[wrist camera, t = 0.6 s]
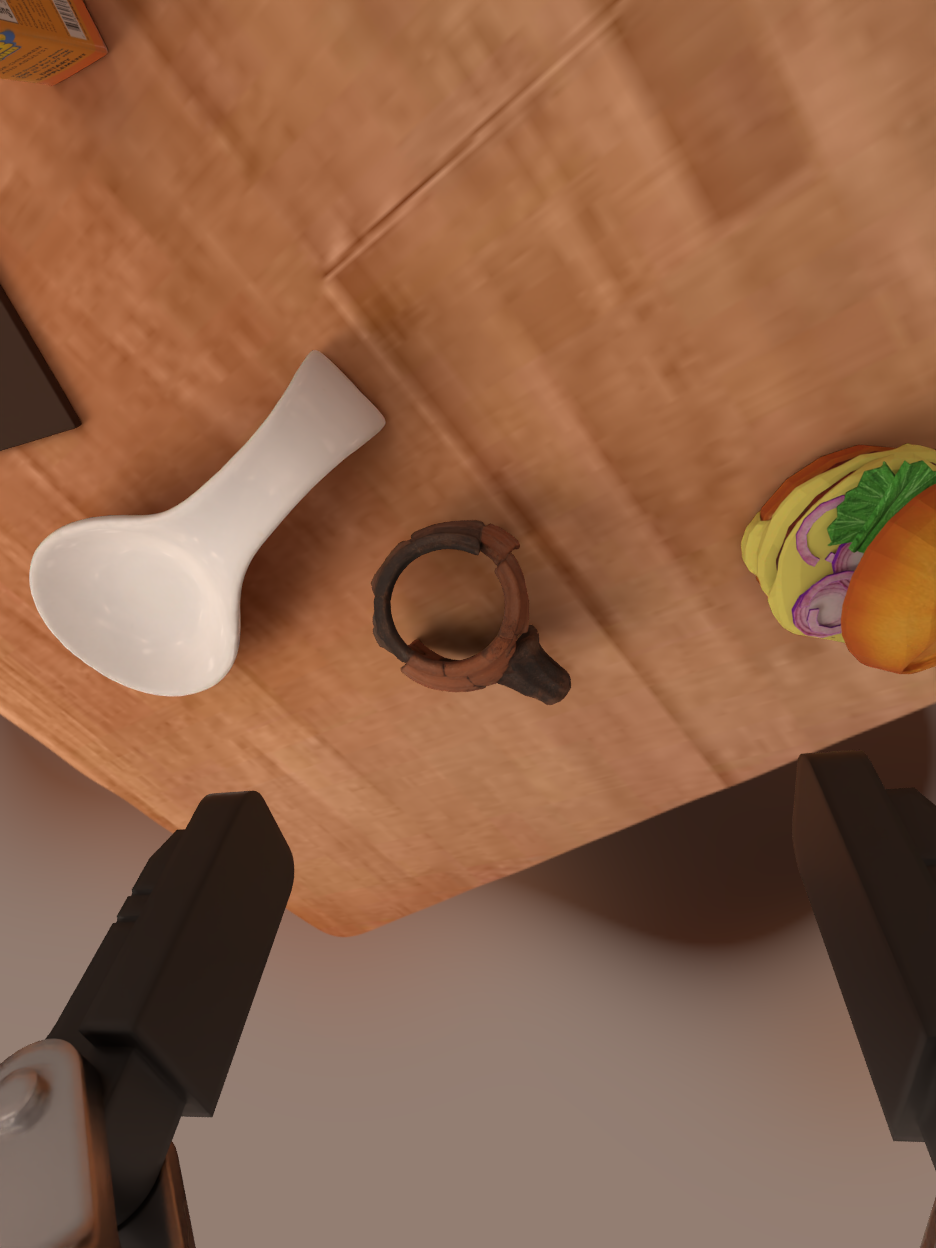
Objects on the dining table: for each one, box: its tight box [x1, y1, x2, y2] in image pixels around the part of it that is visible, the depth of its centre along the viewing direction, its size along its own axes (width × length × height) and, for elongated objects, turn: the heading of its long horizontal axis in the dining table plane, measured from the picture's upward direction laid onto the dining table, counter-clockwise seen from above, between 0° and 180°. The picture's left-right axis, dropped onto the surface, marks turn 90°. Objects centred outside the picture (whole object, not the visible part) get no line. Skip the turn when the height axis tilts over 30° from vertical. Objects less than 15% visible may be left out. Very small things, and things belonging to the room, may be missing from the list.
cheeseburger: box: [741, 443, 936, 674], centre depth 32 cm, size 10×11×10 cm
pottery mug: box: [371, 520, 571, 705], centre depth 37 cm, size 12×10×8 cm
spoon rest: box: [29, 350, 386, 696], centre depth 36 cm, size 24×12×7 cm, turn 134°
